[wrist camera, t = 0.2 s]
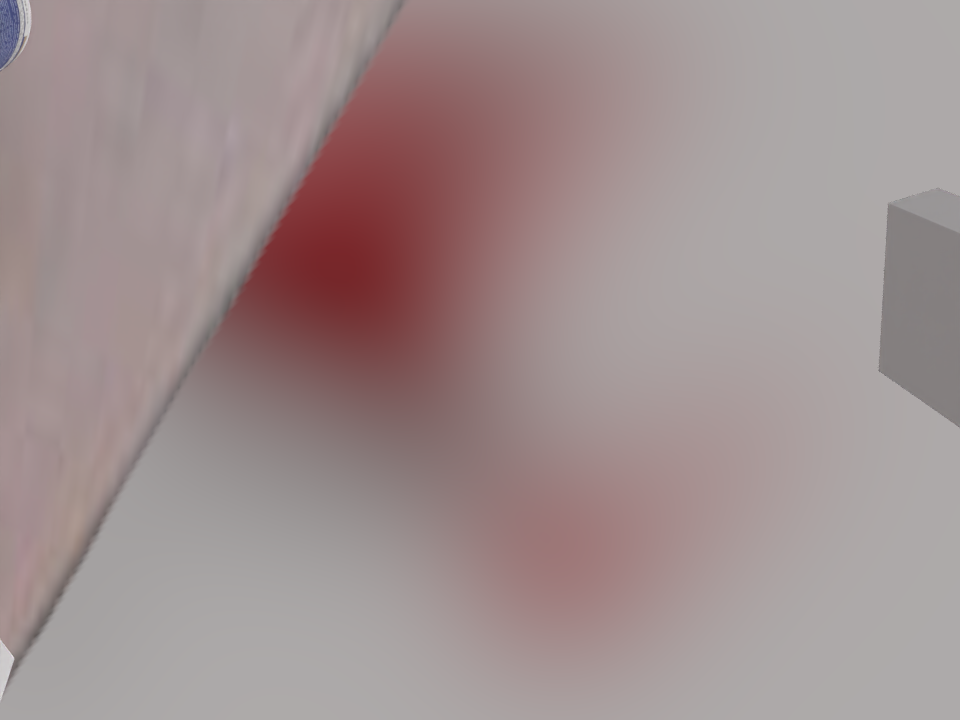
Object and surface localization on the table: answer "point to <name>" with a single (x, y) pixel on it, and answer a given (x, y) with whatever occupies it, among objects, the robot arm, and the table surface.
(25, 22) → the pill bottle
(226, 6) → the table surface
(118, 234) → the table surface
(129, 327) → the table surface
